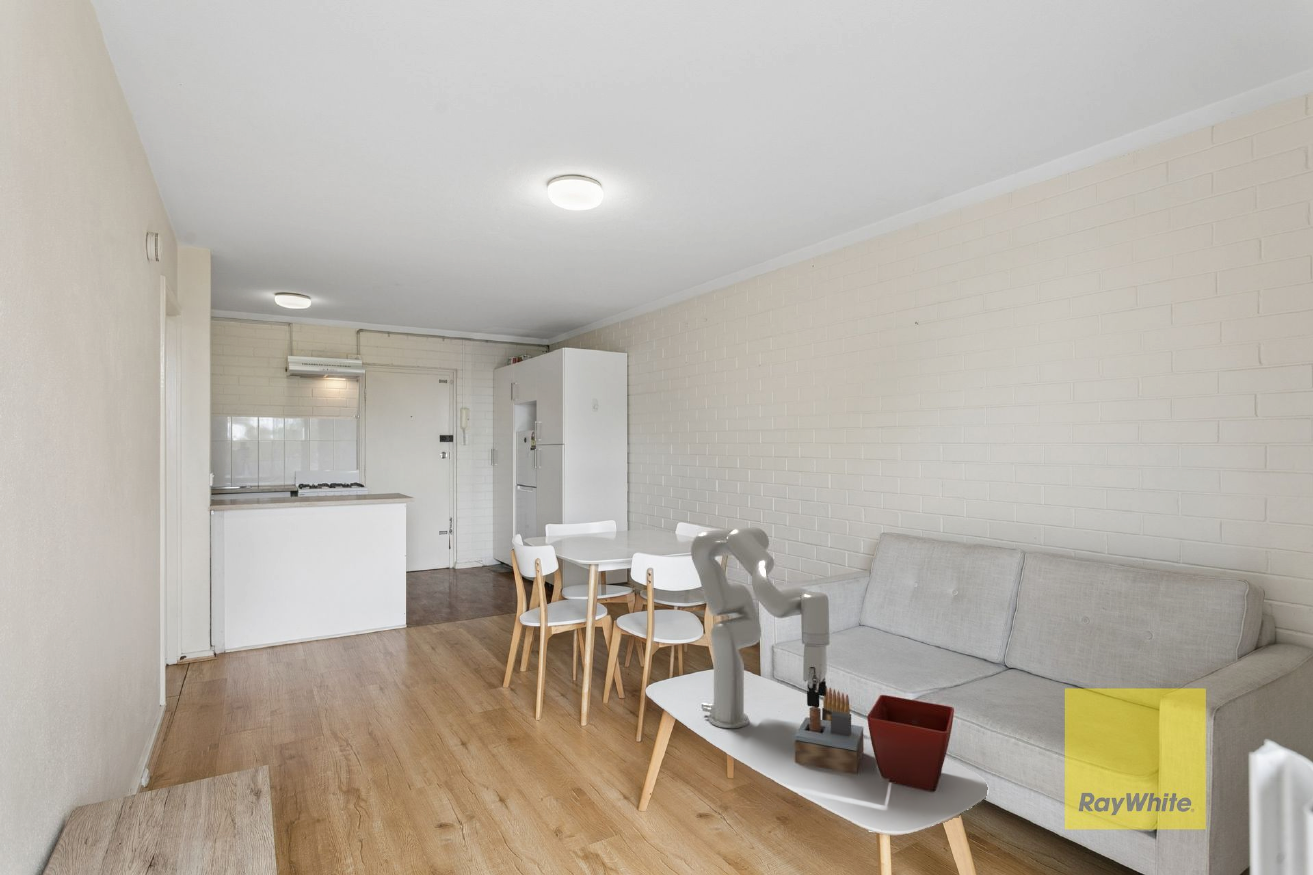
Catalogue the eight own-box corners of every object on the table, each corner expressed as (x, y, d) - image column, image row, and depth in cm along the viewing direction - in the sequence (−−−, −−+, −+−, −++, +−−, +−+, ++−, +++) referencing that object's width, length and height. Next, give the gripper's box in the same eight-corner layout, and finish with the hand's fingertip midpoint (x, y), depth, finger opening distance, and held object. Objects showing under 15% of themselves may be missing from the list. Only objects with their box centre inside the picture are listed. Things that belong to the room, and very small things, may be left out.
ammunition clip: (851, 735, 199) (851, 694, 200) (847, 736, 198) (847, 695, 199) (826, 722, 209) (825, 684, 209) (821, 723, 208) (821, 685, 208)
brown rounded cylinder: (808, 755, 183) (808, 709, 183) (810, 751, 186) (810, 706, 186) (819, 757, 182) (819, 711, 182) (821, 753, 184) (821, 707, 185)
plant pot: (947, 802, 160) (947, 731, 161) (866, 783, 169) (866, 716, 170) (955, 770, 177) (954, 706, 177) (880, 754, 186) (880, 693, 187)
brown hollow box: (795, 765, 179) (795, 740, 179) (805, 745, 192) (805, 722, 192) (856, 778, 172) (856, 751, 172) (863, 756, 185) (863, 732, 185)
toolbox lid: (795, 739, 179) (795, 716, 179) (805, 721, 192) (805, 699, 192) (856, 750, 172) (856, 726, 173) (863, 730, 185) (863, 708, 185)
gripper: (808, 629, 194) (809, 689, 193) (795, 643, 178) (796, 708, 177) (834, 632, 191) (835, 692, 190) (823, 646, 175) (824, 712, 174)
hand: (816, 700), depth 184 cm, fingers open, 9 cm apart
